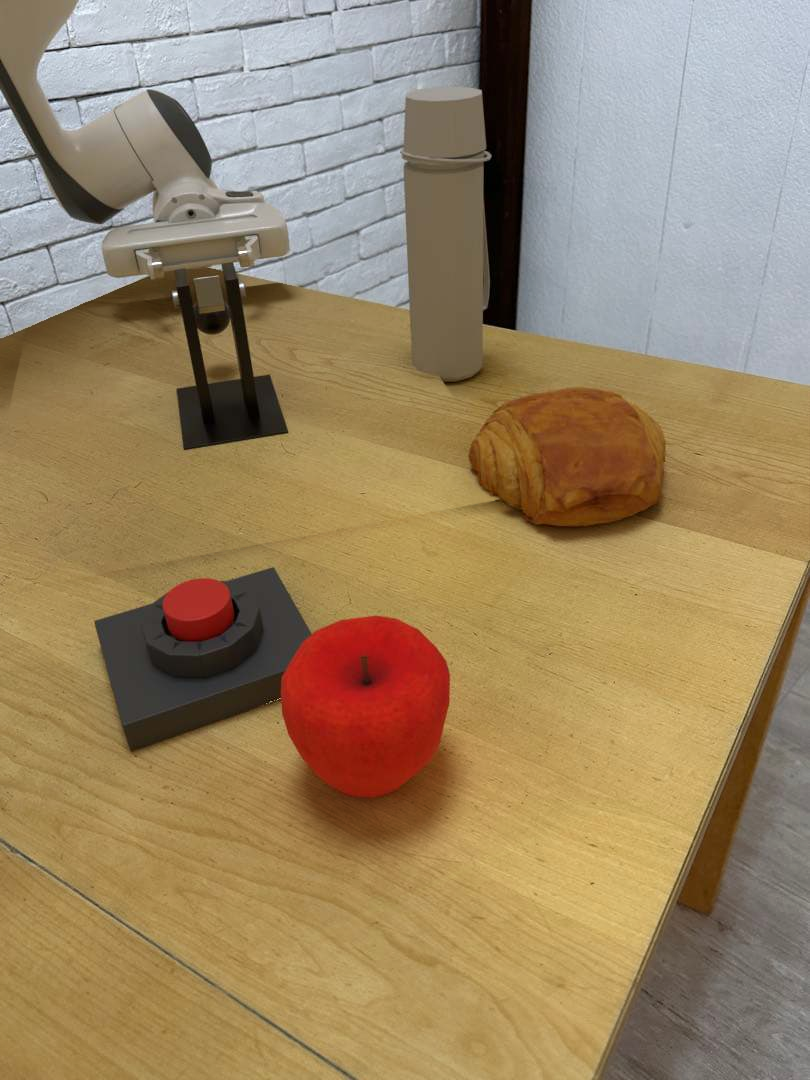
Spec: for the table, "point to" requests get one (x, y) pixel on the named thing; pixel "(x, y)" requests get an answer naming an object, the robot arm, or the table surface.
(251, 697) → the button box
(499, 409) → the croissant
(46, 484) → the table surface
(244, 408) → the bracket
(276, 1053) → the table surface
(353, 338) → the table surface
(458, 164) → the water bottle
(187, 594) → the button
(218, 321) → the lever
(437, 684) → the apple
